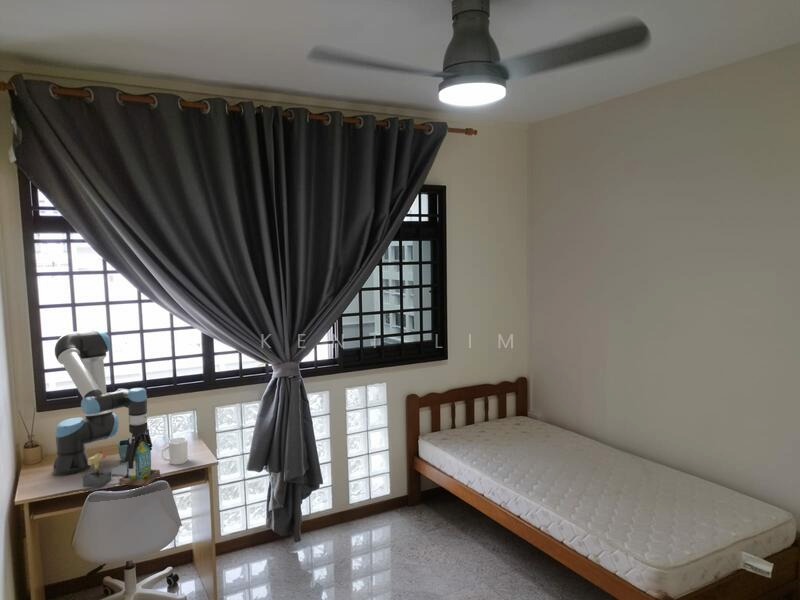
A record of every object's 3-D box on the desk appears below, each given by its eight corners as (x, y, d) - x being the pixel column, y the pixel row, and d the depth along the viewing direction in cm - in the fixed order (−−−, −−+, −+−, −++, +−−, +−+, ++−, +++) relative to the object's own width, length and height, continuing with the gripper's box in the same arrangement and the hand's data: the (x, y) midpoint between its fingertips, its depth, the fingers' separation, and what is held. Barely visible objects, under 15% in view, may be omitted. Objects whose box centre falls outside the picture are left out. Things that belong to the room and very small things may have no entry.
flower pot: (138, 455, 281) (138, 438, 281) (138, 461, 273) (138, 443, 273) (119, 457, 278) (118, 440, 277) (118, 464, 270) (118, 446, 269)
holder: (119, 484, 247) (119, 478, 247) (133, 473, 259) (133, 468, 258) (146, 485, 246) (146, 480, 246) (159, 475, 258) (159, 469, 257)
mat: (106, 475, 257) (105, 473, 257) (123, 463, 271) (123, 462, 271) (135, 476, 256) (135, 475, 256) (150, 464, 270) (150, 463, 270)
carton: (140, 484, 248) (138, 444, 246) (126, 481, 250) (125, 442, 249) (153, 477, 254) (151, 439, 253) (139, 475, 257) (138, 437, 256)
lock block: (83, 485, 245) (82, 477, 245) (94, 478, 253) (94, 469, 253) (100, 486, 244) (100, 477, 244) (111, 479, 252) (111, 470, 252)
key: (92, 477, 244) (91, 459, 243) (88, 477, 244) (87, 458, 243) (105, 469, 253) (105, 451, 252) (101, 469, 253) (101, 451, 252)
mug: (159, 462, 273) (159, 441, 272) (185, 457, 280) (184, 436, 279) (163, 468, 266) (163, 446, 265) (189, 462, 273) (189, 441, 272)
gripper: (131, 431, 238) (133, 480, 240) (159, 415, 261) (160, 460, 263) (114, 431, 238) (116, 480, 240) (144, 414, 262) (145, 459, 264)
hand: (139, 469), depth 252 cm, fingers open, 11 cm apart
